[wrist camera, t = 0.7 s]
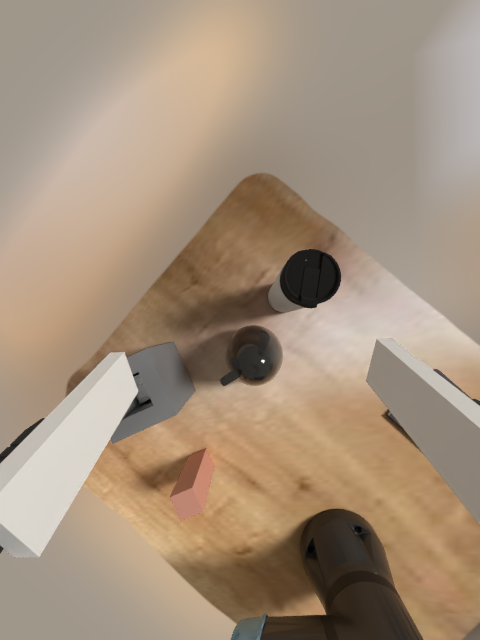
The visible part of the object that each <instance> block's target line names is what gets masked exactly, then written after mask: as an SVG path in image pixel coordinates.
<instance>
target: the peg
mask: <svg viewBox="0 0 480 640" xmlns="http://www.w3.org/2000/svg"><path fill="white" fill-rule="evenodd" d="M214 467H215V466H214V464H213V462H212V460H211V457H210V455H209V453H208V451H207V449H206V448H205V449H203V450H201V451H199V452H196V453H194V454H192V455H190V456H188V459H187V461H186V463H185V465H184V467H183V469H182V472H181V474H180V476H179V478H178V480H177V483H176V485H175V487H174V489H173V491H172V493H171V496H170V499H171V502H172V504H173V506H174V508H175V511H176V513H177V515H178V517H179V520H180V521H182V520H185V519H187V518H189V517H192V516H194V515H196V514H199V513H201V512H203V511H204V507H205V503H206V499H207V495H208V491H209V487H210V483H211V479H212V475H213V471H214Z"/></svg>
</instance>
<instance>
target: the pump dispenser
mask: <svg viewBox="0 0 480 640" xmlns="http://www.w3.org/2000/svg"><path fill="white" fill-rule="evenodd" d="M225 357H226V363H227V367H228V369H229V371H230V372H229V373H228V374H227V375H225V376H224V377H223V378H222V379H220V382H221V384H222V385H223V386H226V385H227V384H229V383H231V382H233V381H234V380H236V379H237V380H238V381H240V382H241V383H243V384H246V385H250V386H259V385H263V384H266V383H267V382H269V381H271V380H272V379H273V378H274V377H275V376H276V375H277V373H278V372H279V370H280V368H281V365H282V360H283V352H282V347H281V344H280V342H279V340H278V338H277V337H276V336H275V335H274V333H272V332H271V331H270V330H268V329H267V328H264V327H262V326H257V325H250V326H245V327H243V328H241V329H239V330H237V331H236V332H235V333H234V334H233V335H232V336H231V338H230V339H229V341H228V343H227V346H226V352H225Z"/></svg>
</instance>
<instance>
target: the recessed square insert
mask: <svg viewBox="0 0 480 640" xmlns="http://www.w3.org/2000/svg"><path fill="white" fill-rule="evenodd" d="M134 380H135V383H136V386H137V389H138V393H137V395H136V397H137V399H138V401H139V403H140V404H141V403H143V402H145V401H147V400H149V399H150V396H149V394H148V392H147V390H146V388H145V385H144V383H143V381H142V379H141V376H140V374H139V375H136V376H134Z"/></svg>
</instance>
